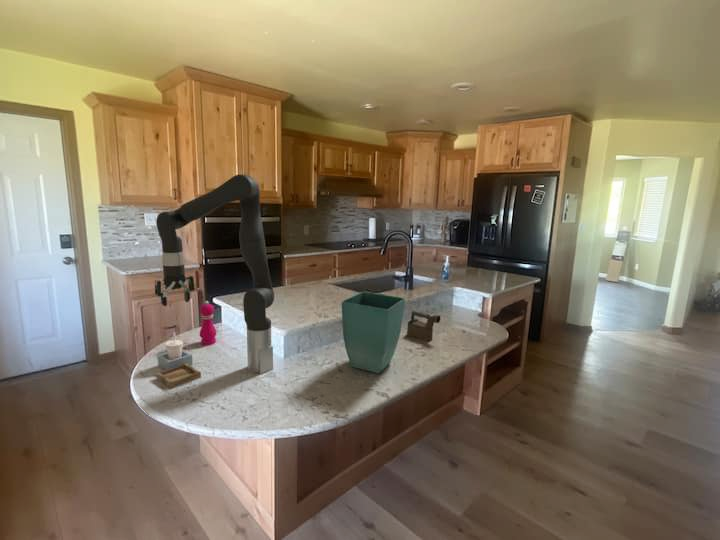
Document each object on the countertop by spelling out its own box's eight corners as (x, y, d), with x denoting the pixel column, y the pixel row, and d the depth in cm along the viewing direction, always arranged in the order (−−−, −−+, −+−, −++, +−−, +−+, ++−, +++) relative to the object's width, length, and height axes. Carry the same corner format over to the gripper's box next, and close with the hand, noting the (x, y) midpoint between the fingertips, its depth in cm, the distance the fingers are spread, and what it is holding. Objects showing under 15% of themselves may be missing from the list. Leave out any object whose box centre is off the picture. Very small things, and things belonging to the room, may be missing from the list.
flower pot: (360, 351, 169) (362, 290, 164) (401, 360, 161) (405, 297, 155) (338, 368, 152) (340, 301, 146) (384, 380, 143) (387, 309, 138)
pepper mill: (213, 346, 169) (211, 303, 165) (197, 345, 169) (195, 302, 165) (219, 340, 176) (217, 299, 172) (204, 339, 176) (202, 298, 172)
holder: (192, 365, 150) (192, 354, 149) (169, 373, 143) (168, 362, 142) (181, 358, 155) (180, 348, 154) (158, 365, 148) (157, 355, 147)
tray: (201, 377, 140) (200, 372, 140) (171, 388, 132) (171, 383, 131) (186, 368, 147) (185, 363, 146) (157, 378, 138) (156, 373, 138)
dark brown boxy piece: (431, 343, 181) (434, 317, 178) (405, 334, 192) (407, 309, 189) (440, 339, 187) (443, 314, 184) (415, 330, 198) (416, 306, 195)
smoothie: (172, 370, 145) (170, 336, 142) (163, 366, 148) (160, 332, 145) (187, 364, 150) (185, 331, 147) (178, 360, 153) (176, 328, 151)
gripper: (158, 267, 137) (161, 309, 140) (196, 262, 148) (198, 302, 151) (149, 264, 142) (153, 305, 145) (187, 260, 152) (189, 298, 156)
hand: (176, 303), depth 148 cm, fingers open, 8 cm apart
